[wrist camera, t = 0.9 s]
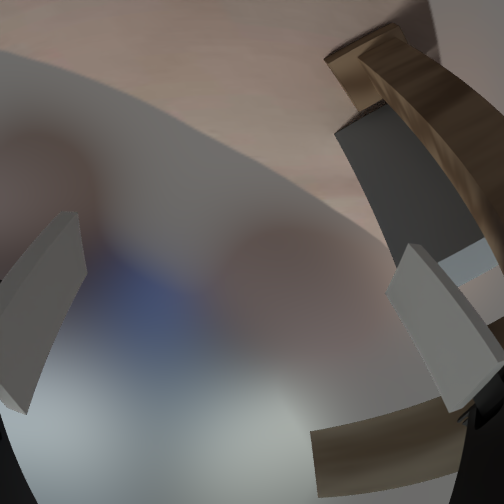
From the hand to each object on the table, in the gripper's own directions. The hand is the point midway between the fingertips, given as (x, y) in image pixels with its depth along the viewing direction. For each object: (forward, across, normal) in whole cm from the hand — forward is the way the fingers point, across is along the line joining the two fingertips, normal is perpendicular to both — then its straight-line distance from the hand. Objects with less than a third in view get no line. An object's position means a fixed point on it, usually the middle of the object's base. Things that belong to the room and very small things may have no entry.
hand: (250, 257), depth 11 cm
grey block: (+25, +18, +3) cm, 31 cm away
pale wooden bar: (-5, +12, -3) cm, 13 cm away
